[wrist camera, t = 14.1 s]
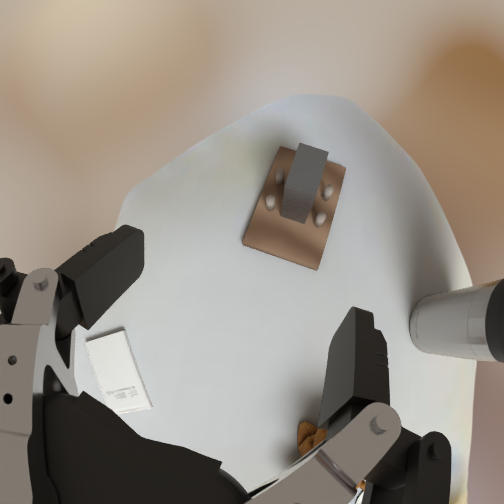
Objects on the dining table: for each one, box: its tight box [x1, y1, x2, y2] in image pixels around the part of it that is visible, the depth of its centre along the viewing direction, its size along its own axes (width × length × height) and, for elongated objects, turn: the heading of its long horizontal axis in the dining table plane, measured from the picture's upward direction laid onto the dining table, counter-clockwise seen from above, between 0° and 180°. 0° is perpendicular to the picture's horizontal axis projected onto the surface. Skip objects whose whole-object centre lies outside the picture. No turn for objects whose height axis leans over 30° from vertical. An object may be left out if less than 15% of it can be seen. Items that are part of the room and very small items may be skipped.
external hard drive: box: [85, 330, 153, 414], centre depth 36 cm, size 2×8×12 cm
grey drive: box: [281, 143, 329, 224], centre depth 35 cm, size 6×4×10 cm, turn 160°
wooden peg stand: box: [242, 146, 346, 270], centre depth 39 cm, size 17×11×4 cm, turn 160°
